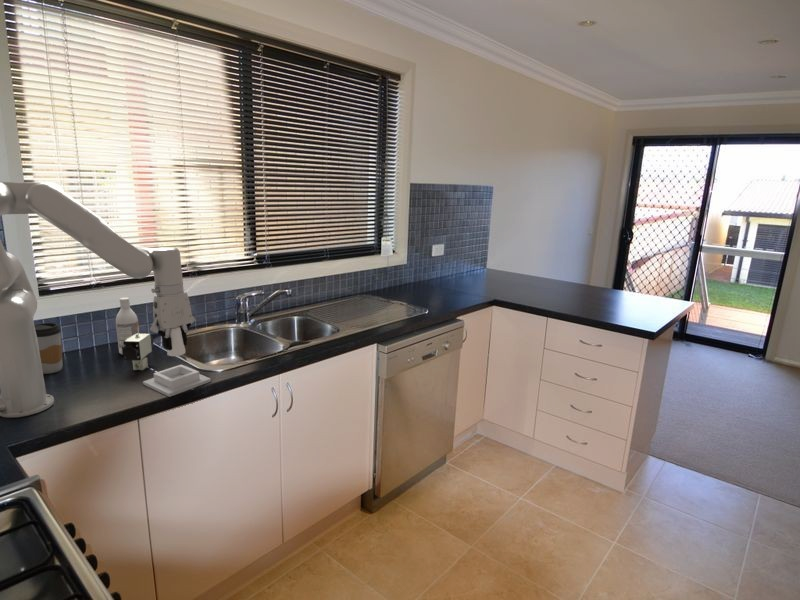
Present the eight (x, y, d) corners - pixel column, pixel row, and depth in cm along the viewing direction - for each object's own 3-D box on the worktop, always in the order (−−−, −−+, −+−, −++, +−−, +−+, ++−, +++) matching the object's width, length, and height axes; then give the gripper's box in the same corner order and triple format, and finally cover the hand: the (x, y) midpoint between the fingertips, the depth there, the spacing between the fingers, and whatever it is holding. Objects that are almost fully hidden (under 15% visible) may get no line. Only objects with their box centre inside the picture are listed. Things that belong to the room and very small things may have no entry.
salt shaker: (188, 353, 150) (185, 319, 147) (170, 357, 146) (166, 322, 144) (182, 348, 154) (178, 315, 151) (164, 352, 150) (160, 318, 147)
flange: (169, 396, 143) (168, 385, 142) (142, 384, 151) (141, 373, 150) (210, 381, 154) (210, 371, 153) (184, 370, 162) (183, 360, 161)
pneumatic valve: (155, 361, 168) (152, 328, 165) (139, 375, 157) (135, 340, 154) (139, 361, 168) (136, 328, 165) (121, 375, 156) (117, 339, 153)
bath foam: (142, 353, 175) (136, 299, 170) (120, 356, 171) (114, 301, 166) (139, 347, 181) (134, 295, 176) (118, 350, 177) (112, 297, 172)
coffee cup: (58, 363, 164) (51, 320, 160) (71, 368, 160) (65, 325, 156) (30, 371, 157) (22, 326, 153) (43, 377, 153) (36, 331, 149)
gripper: (149, 296, 136) (156, 357, 141) (202, 285, 150) (207, 341, 154) (134, 292, 140) (142, 352, 145) (187, 282, 154) (192, 337, 158)
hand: (175, 346), depth 150 cm, fingers closed on salt shaker, 4 cm apart
